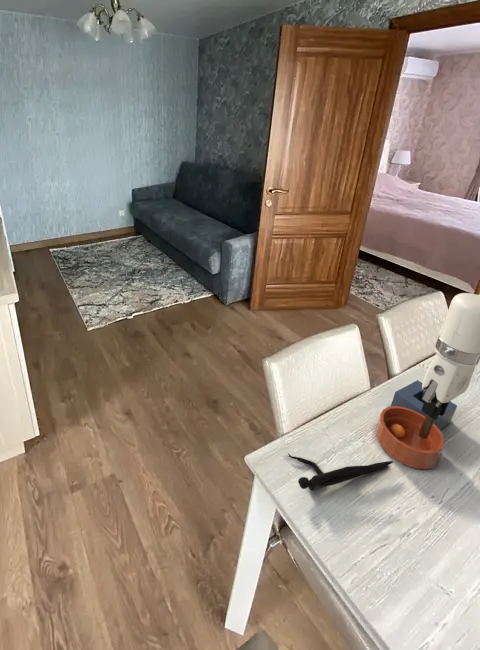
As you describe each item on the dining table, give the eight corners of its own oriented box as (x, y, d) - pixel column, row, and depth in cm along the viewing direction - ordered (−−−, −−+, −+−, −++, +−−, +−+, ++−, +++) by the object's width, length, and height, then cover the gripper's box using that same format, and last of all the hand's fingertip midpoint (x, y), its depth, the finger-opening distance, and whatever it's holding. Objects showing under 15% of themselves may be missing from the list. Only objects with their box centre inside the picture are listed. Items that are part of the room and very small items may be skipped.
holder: (450, 422, 94) (457, 405, 92) (428, 436, 90) (434, 420, 88) (412, 395, 103) (417, 379, 101) (390, 407, 99) (395, 391, 96)
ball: (405, 437, 89) (409, 429, 88) (398, 442, 88) (401, 433, 87) (394, 428, 92) (397, 419, 91) (386, 432, 90) (389, 424, 89)
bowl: (448, 456, 85) (456, 439, 83) (415, 480, 80) (422, 462, 77) (396, 415, 96) (401, 399, 94) (363, 434, 91) (368, 417, 88)
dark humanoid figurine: (377, 424, 85) (288, 442, 79) (402, 463, 79) (307, 485, 73) (362, 438, 90) (277, 456, 84) (384, 476, 84) (293, 498, 77)
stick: (428, 437, 83) (445, 396, 78) (424, 440, 82) (441, 399, 77) (421, 431, 84) (437, 390, 79) (416, 434, 83) (432, 393, 79)
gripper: (456, 372, 67) (428, 439, 74) (498, 349, 73) (468, 413, 80) (417, 349, 73) (395, 413, 80) (458, 330, 80) (434, 390, 87)
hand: (432, 412), depth 80 cm, fingers closed on stick, 1 cm apart
